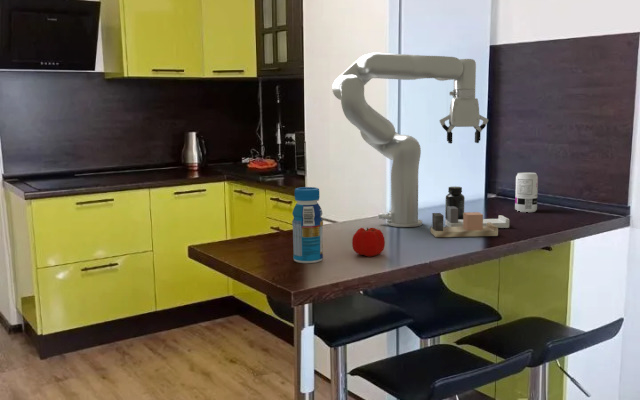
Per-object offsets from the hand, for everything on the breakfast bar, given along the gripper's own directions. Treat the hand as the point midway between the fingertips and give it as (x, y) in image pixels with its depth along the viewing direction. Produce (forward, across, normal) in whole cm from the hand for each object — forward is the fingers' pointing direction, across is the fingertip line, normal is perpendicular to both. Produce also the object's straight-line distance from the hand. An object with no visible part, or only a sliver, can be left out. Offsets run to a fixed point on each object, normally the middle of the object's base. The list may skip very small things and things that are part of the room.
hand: (463, 143), depth 225 cm
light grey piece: (+28, +2, -12) cm, 31 cm away
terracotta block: (+26, -3, -25) cm, 36 cm away
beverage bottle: (+28, -57, -55) cm, 84 cm away
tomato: (+29, -40, -50) cm, 70 cm away
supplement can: (+28, +30, +18) cm, 45 cm away
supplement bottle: (+28, -2, +3) cm, 29 cm away
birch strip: (+28, -6, -25) cm, 38 cm away
